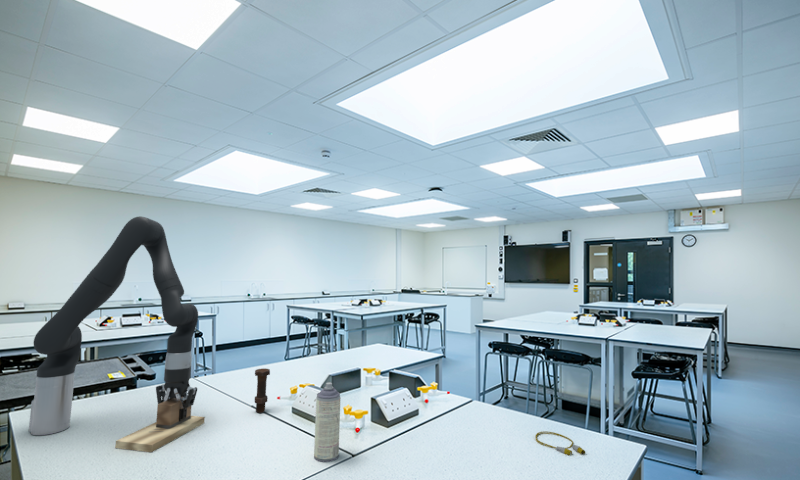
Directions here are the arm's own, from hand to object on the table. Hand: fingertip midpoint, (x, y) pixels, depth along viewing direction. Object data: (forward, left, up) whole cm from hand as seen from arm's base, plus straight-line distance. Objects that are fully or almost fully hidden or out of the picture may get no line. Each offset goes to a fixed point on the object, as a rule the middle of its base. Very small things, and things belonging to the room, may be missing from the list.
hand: (174, 419), depth 125 cm
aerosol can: (+55, -6, -3) cm, 55 cm away
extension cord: (+121, +18, -4) cm, 122 cm away
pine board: (0, -4, -3) cm, 5 cm away
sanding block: (0, 0, -1) cm, 1 cm away
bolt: (+19, +21, -3) cm, 28 cm away
